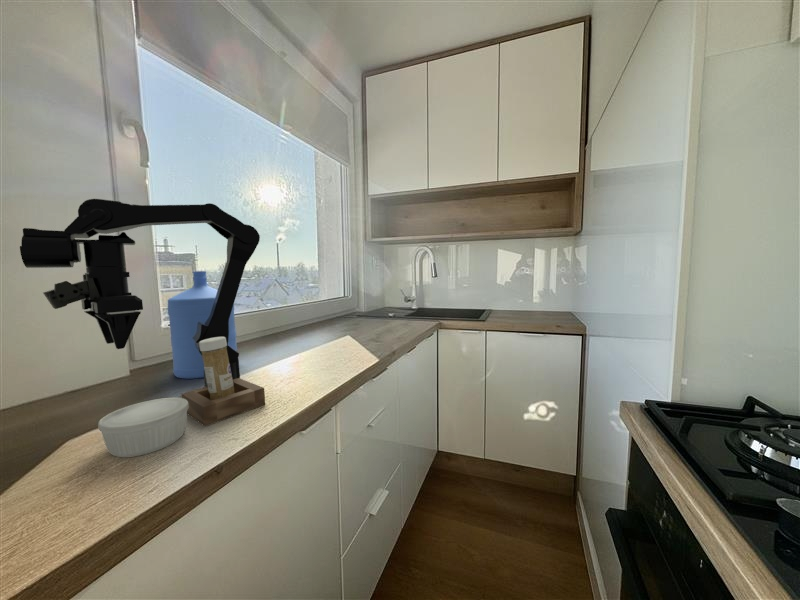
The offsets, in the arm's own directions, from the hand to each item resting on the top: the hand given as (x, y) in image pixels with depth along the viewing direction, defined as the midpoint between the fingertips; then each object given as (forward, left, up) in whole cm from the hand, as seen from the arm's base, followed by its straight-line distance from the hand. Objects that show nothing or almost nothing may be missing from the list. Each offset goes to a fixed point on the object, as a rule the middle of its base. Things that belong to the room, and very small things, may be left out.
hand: (115, 345), depth 62 cm
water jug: (-21, -14, -13) cm, 28 cm away
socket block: (-12, +17, -13) cm, 25 cm away
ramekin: (0, +21, -13) cm, 25 cm away
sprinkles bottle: (-12, +17, -12) cm, 25 cm away
